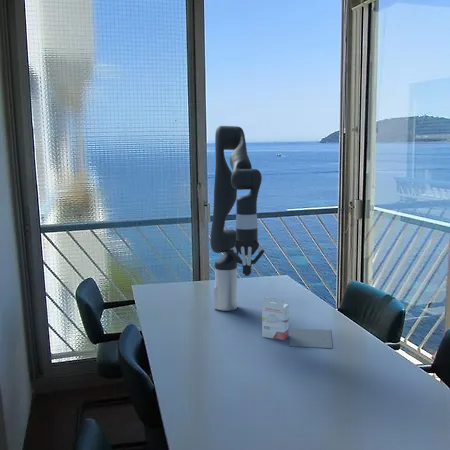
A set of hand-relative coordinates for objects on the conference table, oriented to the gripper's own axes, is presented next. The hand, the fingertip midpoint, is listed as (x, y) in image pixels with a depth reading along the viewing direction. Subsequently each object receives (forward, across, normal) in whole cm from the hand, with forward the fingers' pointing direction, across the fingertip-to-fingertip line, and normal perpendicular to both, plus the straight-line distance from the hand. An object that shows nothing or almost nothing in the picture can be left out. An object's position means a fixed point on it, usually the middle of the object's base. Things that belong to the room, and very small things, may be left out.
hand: (247, 275), depth 176 cm
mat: (+22, +22, 0) cm, 31 cm away
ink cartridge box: (+22, +10, 0) cm, 24 cm away
